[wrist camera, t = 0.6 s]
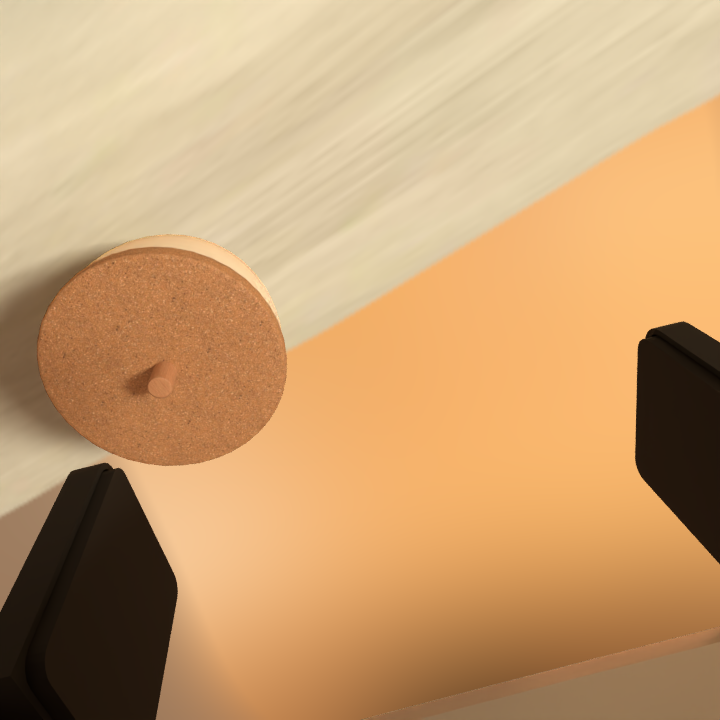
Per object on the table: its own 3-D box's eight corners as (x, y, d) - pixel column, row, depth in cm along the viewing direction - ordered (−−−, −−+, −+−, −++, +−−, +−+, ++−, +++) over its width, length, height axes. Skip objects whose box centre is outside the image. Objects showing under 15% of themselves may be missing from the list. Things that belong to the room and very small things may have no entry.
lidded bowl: (216, 172, 35) (196, 214, 26) (316, 337, 41) (331, 423, 31) (41, 271, 37) (-41, 346, 27) (163, 418, 42) (130, 524, 33)
